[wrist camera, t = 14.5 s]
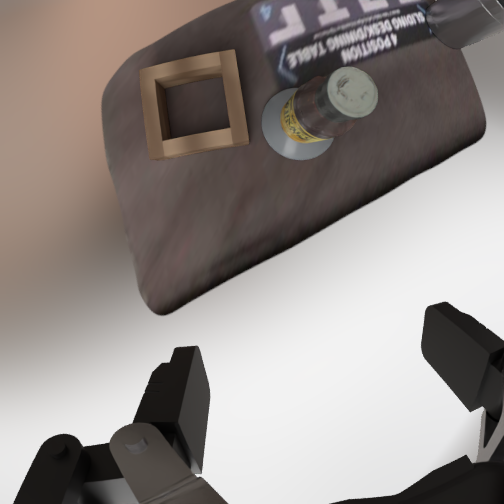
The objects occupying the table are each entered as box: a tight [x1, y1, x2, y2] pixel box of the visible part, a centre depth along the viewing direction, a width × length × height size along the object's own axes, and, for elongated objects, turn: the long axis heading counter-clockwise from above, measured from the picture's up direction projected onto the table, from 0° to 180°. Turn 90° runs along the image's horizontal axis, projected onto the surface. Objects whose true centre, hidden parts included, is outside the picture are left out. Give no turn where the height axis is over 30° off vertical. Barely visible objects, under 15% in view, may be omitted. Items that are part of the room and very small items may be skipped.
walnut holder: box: [139, 49, 249, 160], centre depth 35 cm, size 12×12×5 cm
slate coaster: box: [261, 88, 334, 160], centre depth 38 cm, size 10×10×1 cm
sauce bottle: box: [280, 66, 378, 143], centre depth 28 cm, size 6×6×20 cm
